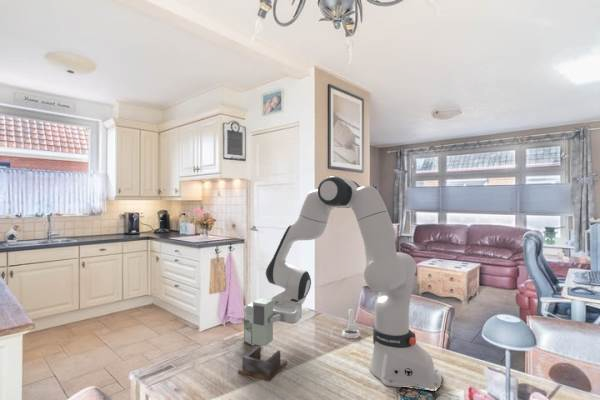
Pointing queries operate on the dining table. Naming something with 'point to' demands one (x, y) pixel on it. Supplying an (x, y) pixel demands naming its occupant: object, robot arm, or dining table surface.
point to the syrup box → (248, 328)
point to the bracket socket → (261, 365)
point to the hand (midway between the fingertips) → (261, 319)
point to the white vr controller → (351, 327)
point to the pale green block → (262, 321)
